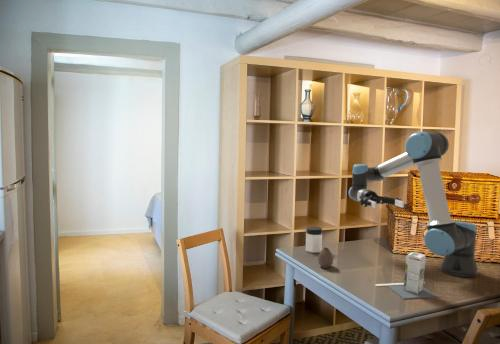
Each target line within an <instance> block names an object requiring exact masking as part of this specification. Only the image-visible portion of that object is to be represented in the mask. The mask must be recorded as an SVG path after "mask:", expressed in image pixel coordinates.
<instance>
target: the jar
mask: <svg viewBox="0 0 500 344" xmlns="http://www.w3.org/2000/svg"><path fill="white" fill-rule="evenodd" d="M322 245H323V228H322V227H321V226H316V225H315V226H307V227H306V232H305V251H306V252H308V253H312V254H315V253H320V252H321V251H322V250H323V248H322V247H323V246H322Z"/></svg>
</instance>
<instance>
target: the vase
mask: <svg viewBox="0 0 500 344" xmlns="http://www.w3.org/2000/svg"><path fill="white" fill-rule="evenodd" d="M317 259H318V260H317V262H318V264H319V265H320V267H321V268H325V269H327V268H328V269H329V268H330V267H332V266H333V263H334V255H333V253H332V251H330V249H329V247H326V246H325V247H323V248H322V250H321V252H319V253H318V256H317Z"/></svg>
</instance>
